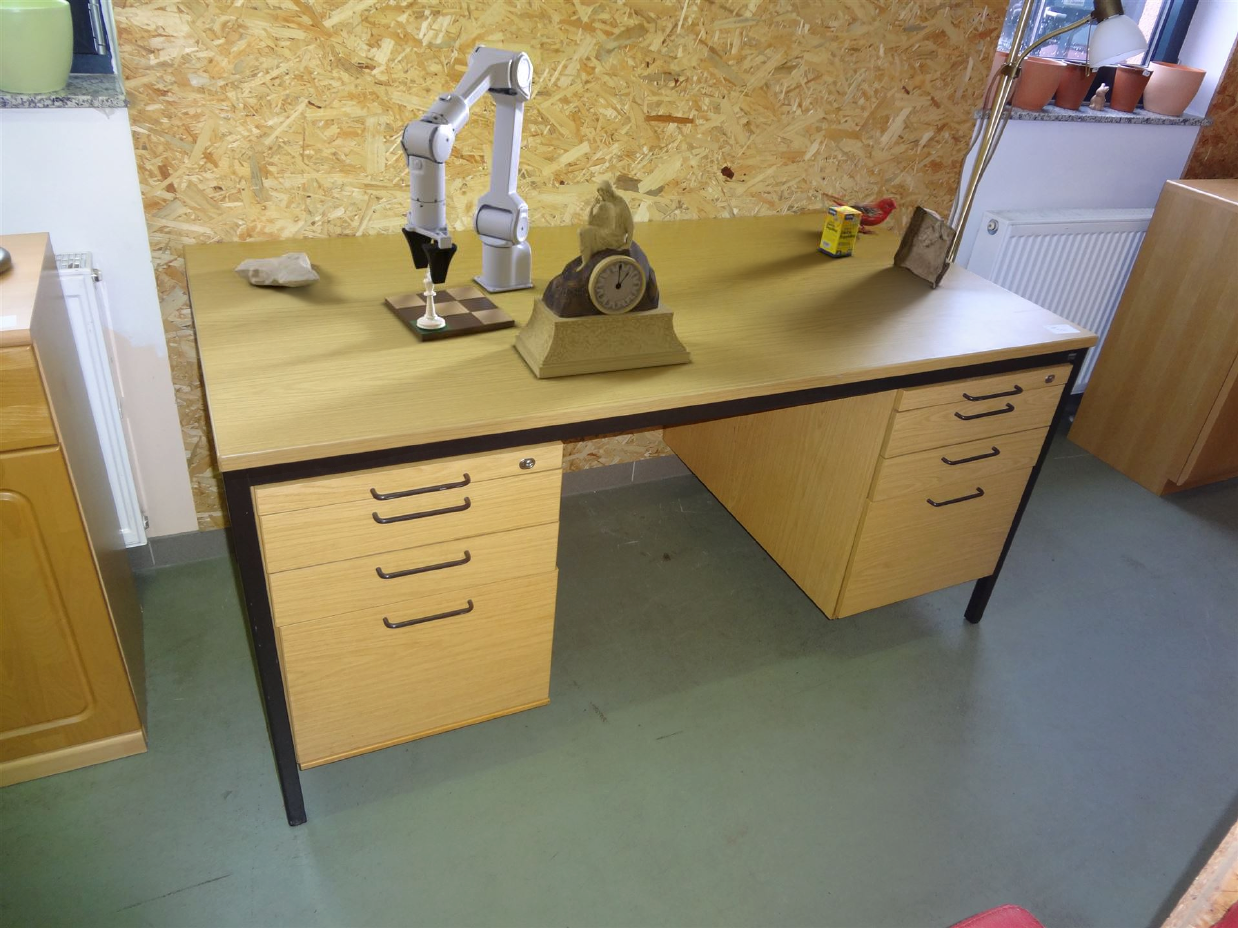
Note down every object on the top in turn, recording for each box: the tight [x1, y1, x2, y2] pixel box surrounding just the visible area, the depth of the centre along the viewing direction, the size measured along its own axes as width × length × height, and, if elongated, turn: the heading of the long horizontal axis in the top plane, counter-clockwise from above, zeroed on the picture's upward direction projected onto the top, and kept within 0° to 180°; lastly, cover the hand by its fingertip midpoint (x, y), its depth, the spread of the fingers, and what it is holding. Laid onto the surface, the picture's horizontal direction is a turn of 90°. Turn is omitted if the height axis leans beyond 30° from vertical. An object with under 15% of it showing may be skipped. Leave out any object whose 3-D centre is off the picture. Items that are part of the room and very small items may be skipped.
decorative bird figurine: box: [832, 197, 898, 234], centre depth 233 cm, size 3×18×10 cm, turn 60°
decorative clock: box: [514, 179, 691, 379], centre depth 145 cm, size 28×13×30 cm, turn 114°
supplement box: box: [819, 205, 862, 258], centre depth 213 cm, size 6×6×11 cm
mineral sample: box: [892, 205, 958, 289], centre depth 202 cm, size 17×4×15 cm, turn 20°
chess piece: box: [417, 268, 445, 329], centre depth 151 cm, size 5×5×10 cm
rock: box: [234, 251, 320, 288], centre depth 165 cm, size 21×5×15 cm
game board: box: [384, 285, 515, 342], centre depth 161 cm, size 18×18×1 cm
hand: (429, 275), depth 151 cm, fingers open, 7 cm apart
